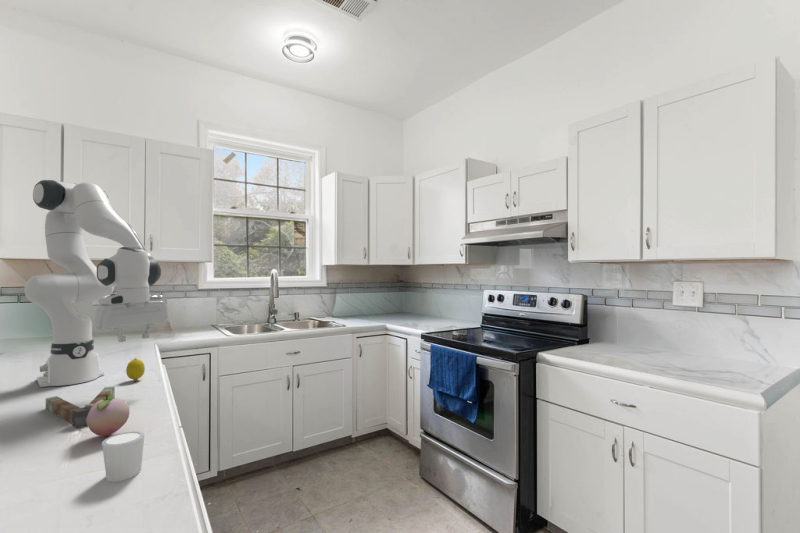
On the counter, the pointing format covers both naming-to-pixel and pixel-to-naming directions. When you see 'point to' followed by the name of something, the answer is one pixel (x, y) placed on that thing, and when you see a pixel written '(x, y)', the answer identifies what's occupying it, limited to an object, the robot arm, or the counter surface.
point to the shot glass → (123, 455)
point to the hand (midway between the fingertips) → (134, 339)
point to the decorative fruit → (107, 416)
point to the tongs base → (68, 411)
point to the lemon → (135, 369)
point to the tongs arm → (104, 394)
